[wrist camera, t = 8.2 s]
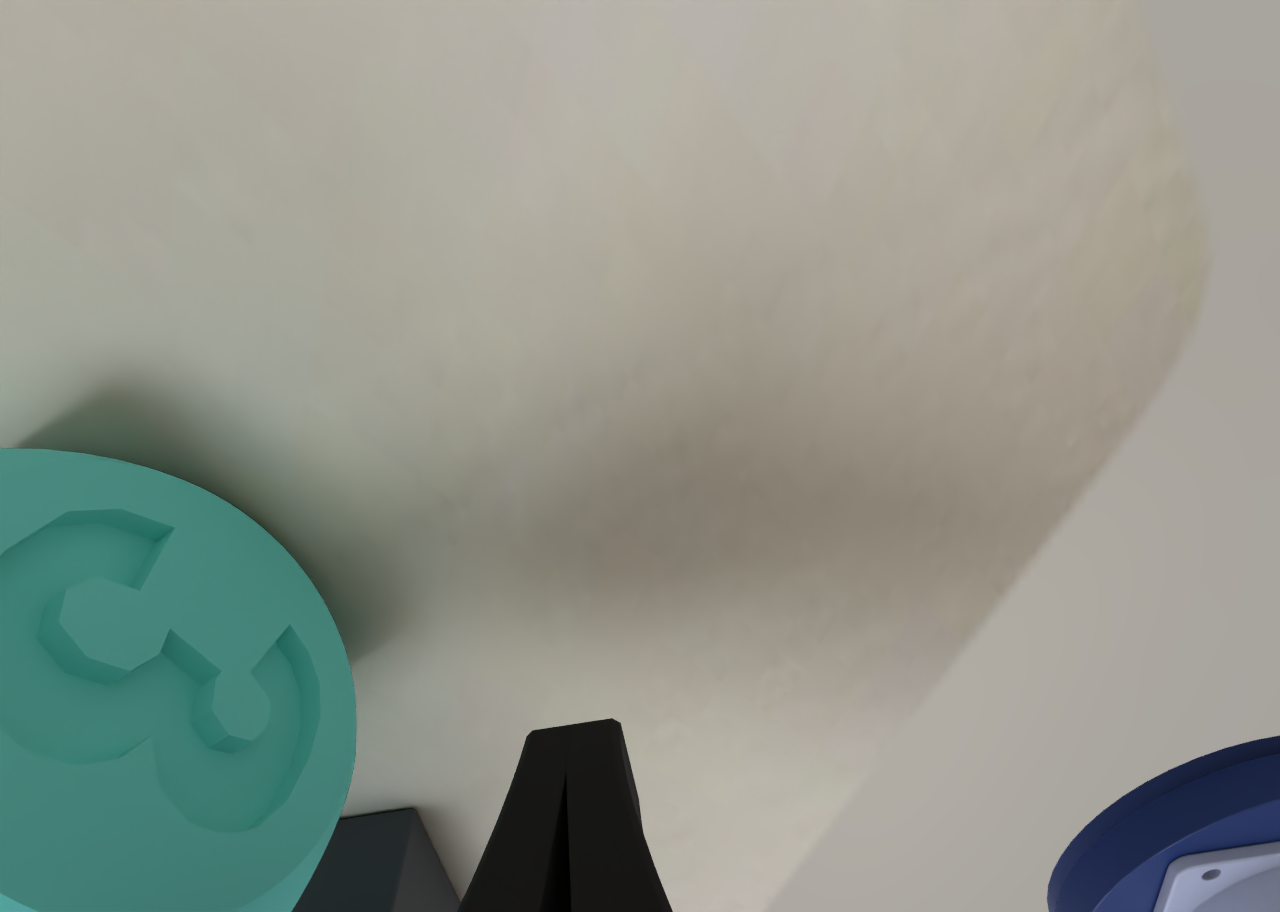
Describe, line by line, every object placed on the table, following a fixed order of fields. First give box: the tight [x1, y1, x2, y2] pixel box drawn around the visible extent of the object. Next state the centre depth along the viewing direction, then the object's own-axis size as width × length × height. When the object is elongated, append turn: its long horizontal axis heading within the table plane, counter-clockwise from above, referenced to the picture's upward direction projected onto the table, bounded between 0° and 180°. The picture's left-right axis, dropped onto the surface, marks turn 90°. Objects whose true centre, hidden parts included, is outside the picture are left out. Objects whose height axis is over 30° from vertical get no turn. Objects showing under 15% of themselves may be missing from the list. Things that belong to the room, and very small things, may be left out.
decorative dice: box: [0, 448, 356, 912], centre depth 13 cm, size 8×8×8 cm
